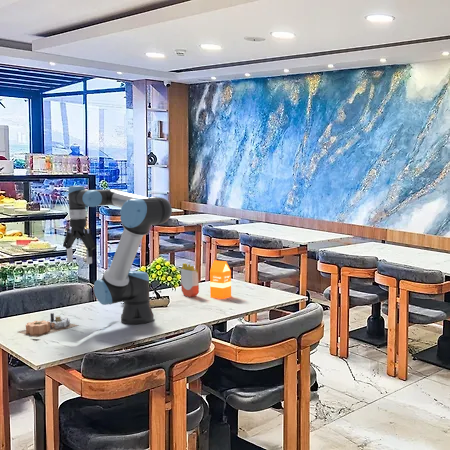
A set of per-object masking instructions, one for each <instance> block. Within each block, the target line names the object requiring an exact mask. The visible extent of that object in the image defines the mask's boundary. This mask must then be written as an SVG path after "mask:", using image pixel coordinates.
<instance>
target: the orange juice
mask: <svg viewBox="0 0 450 450" xmlns="http://www.w3.org/2000/svg"><path fill="white" fill-rule="evenodd" d="M209 283H210V284H209V287H210V291H209V293H210V298H213V299H219V300H220V299H221V300H225V299H228V298H232V270H231V268H230V266H229V264H228V261H227V260H226V261H225V260H215V259H214V260H213V262H212V264H211V266H210V270H209Z"/></svg>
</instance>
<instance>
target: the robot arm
mask: <svg viewBox="0 0 450 450" xmlns="http://www.w3.org/2000/svg"><path fill="white" fill-rule="evenodd" d="M67 195H68V196H67V197H68V212H69V214H68V215H69V218H70V219H69V227H67V228H66V234H65V237H64V240H63V243H62V244H63V245H62V247H63V248H65V249H66V257H67V259H66V260H67V262H68V263H71V262H72V263H73V262H74V258H73V257H74V255H73V252H74V251H73V247H72V246H73V244H74V243H75V241H76V239H80V240H81V241H82V243H83V245H84V246H85V248H86V250H85V254H86V256H85V257H86V265H91V264H93V256H94V255H93V250H94V249H96V248H97V247H96V245H95V242H94V240H93V237H92V234H91V229H90V228H86V226H87V219H86V218H87V213H86V207H90V208H95V207H100V206H102V207H103V206H113V207H118V208H120V212H119V214H120V216H119V218H120V222H121V224H122V227H123V231H122V234H121V236H120V239H119V242H118V244H117V247H116V250H115V252H114V255H113V258H112V260H111V263H110V266H109V269H107V270H105V271H104V273H103V275H102V277H101V278H98V279H97V280H95V281H94V283H93V292H94V295H95V298H96V300H97V301H98V302H99V304H101V305H103V306H104V305H105V306H106V305H108V306H109V305H112V304H117V303H121V302H123V301H124V304H123V308H122V314H121V316H120V322H121V323H123V324H127V325H143V324H147V323H150V322H153V321H154V319H155V317H154V313H153V309H152V306H151V304H150V280H149V279H150V278H149V273H147V272H145V271H142V270H141V271H140V270H131V269H132V265H133V264H134V261H135V258H136V256H137V253H138V251H139V247H140V246H141V243H142V239H144V236H146V235H148V234H149V232H150V229H151V228H152V226H156V225H157V226H158V225H163V224H164V223H166V222H168V221H169V219H171V216H172V212H173V208H172V204H171V203H170V201H168V199H166V198H164V197H158V196H151V197H149V196H143V195H139V194H135V193H131V192H126V191H123V190H122V189H120V188H112V189H111V188H108V189H86V188H85V186H84V185H70V186H69V187H68V193H67Z"/></svg>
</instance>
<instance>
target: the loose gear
mask: <svg viewBox="0 0 450 450" xmlns="http://www.w3.org/2000/svg"><path fill="white" fill-rule="evenodd" d="M47 321H48V322H47ZM35 322H40V323H41V324H37V325H35ZM25 330H26V333H30V334H31V335H33V334H42V333H45V332H49V330H50V322H49V320H43V319H42V320H33V321H31V322H27V323H26V324H25Z"/></svg>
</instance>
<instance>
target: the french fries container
mask: <svg viewBox="0 0 450 450" xmlns="http://www.w3.org/2000/svg"><path fill="white" fill-rule="evenodd" d="M180 276H181V277H180V279H181V283H180V286H181V287H180V289H181V292H182V294H183V295H185V297H189V298H192V297H197V295H198V294H199V292H200V290H199V289H200V285H199V269H195V266H194V265H191V264H188V263H182V267H181V268H180Z"/></svg>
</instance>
